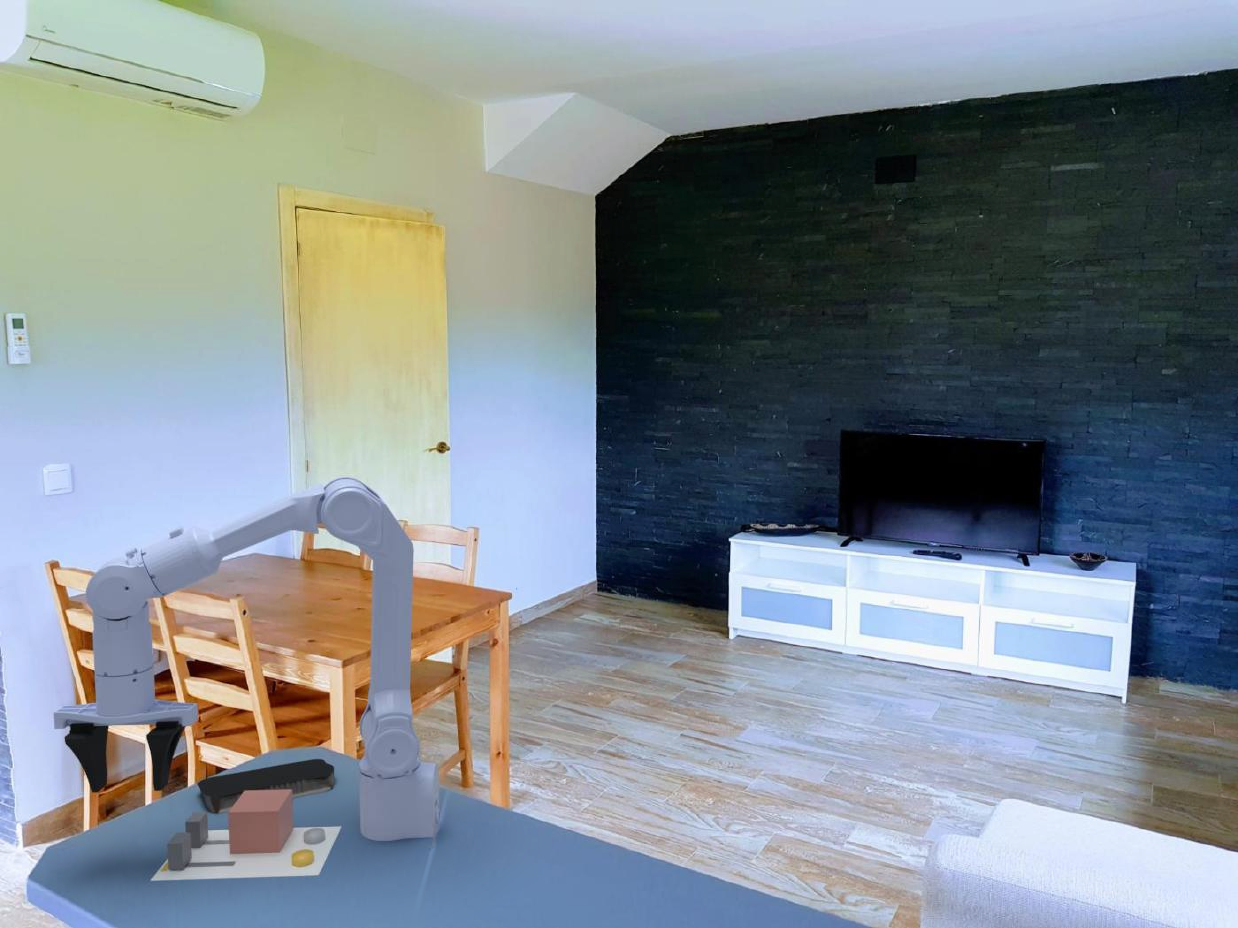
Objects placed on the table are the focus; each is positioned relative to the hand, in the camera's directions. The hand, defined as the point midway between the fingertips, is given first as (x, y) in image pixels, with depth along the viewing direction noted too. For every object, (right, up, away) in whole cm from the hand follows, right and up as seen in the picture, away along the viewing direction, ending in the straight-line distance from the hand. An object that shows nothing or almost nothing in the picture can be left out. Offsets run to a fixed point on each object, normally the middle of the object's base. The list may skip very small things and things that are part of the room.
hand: (130, 787), depth 103 cm
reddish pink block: (+12, -9, +7) cm, 16 cm away
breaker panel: (+12, -10, +4) cm, 16 cm away
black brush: (+8, -9, +20) cm, 24 cm away
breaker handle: (+5, -9, +1) cm, 10 cm away
